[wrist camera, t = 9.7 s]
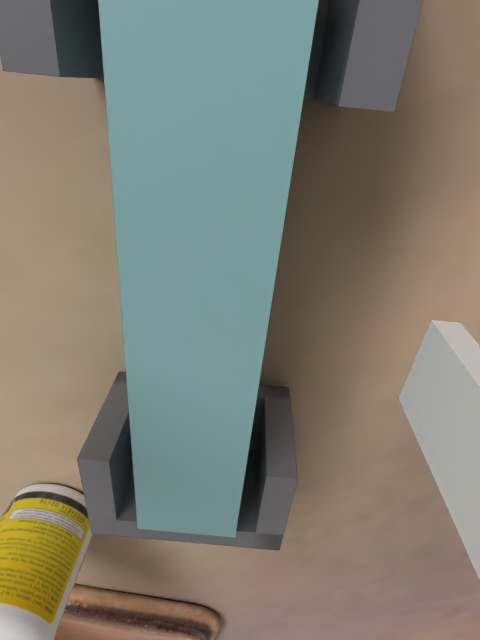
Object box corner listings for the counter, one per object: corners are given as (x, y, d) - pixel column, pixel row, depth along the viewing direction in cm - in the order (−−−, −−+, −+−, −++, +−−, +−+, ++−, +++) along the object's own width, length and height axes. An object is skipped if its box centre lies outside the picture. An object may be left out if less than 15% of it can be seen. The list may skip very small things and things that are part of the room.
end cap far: (118, 371, 19) (77, 458, 15) (288, 387, 19) (297, 479, 15) (125, 441, 22) (91, 533, 17) (274, 455, 22) (279, 550, 17)
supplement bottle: (6, 476, 24) (-130, 688, 15) (95, 484, 24) (8, 699, 16) (24, 526, 27) (-83, 730, 18) (103, 534, 27) (33, 739, 18)
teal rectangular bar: (157, -17, 11) (91, -81, 7) (300, -1, 11) (327, -54, 7) (163, 434, 20) (137, 528, 16) (239, 441, 20) (235, 537, 16)
